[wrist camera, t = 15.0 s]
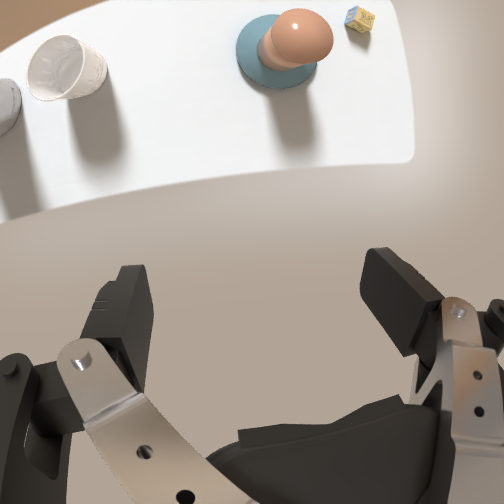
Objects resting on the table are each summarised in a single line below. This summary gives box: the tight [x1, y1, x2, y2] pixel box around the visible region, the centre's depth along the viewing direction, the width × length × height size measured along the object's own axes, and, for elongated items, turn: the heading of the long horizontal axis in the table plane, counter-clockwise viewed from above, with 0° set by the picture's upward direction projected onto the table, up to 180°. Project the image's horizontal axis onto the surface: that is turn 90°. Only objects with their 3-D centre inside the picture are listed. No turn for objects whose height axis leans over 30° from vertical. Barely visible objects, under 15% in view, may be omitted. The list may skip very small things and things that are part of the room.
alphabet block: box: [344, 6, 375, 33], centre depth 30 cm, size 3×3×3 cm
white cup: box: [26, 34, 108, 101], centre depth 26 cm, size 8×8×10 cm
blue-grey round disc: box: [236, 15, 317, 88], centre depth 33 cm, size 11×11×1 cm
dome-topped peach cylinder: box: [257, 9, 333, 72], centre depth 28 cm, size 6×6×10 cm
